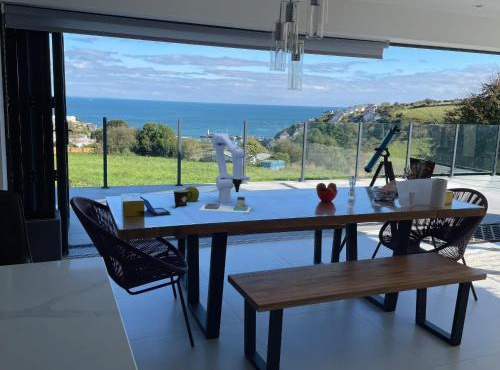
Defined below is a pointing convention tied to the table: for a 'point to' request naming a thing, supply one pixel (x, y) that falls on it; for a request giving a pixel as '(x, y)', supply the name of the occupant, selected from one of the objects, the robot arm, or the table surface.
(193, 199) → the apple
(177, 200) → the coffee mug
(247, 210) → the panel
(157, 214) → the handheld game console
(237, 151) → the robot arm
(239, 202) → the plug
